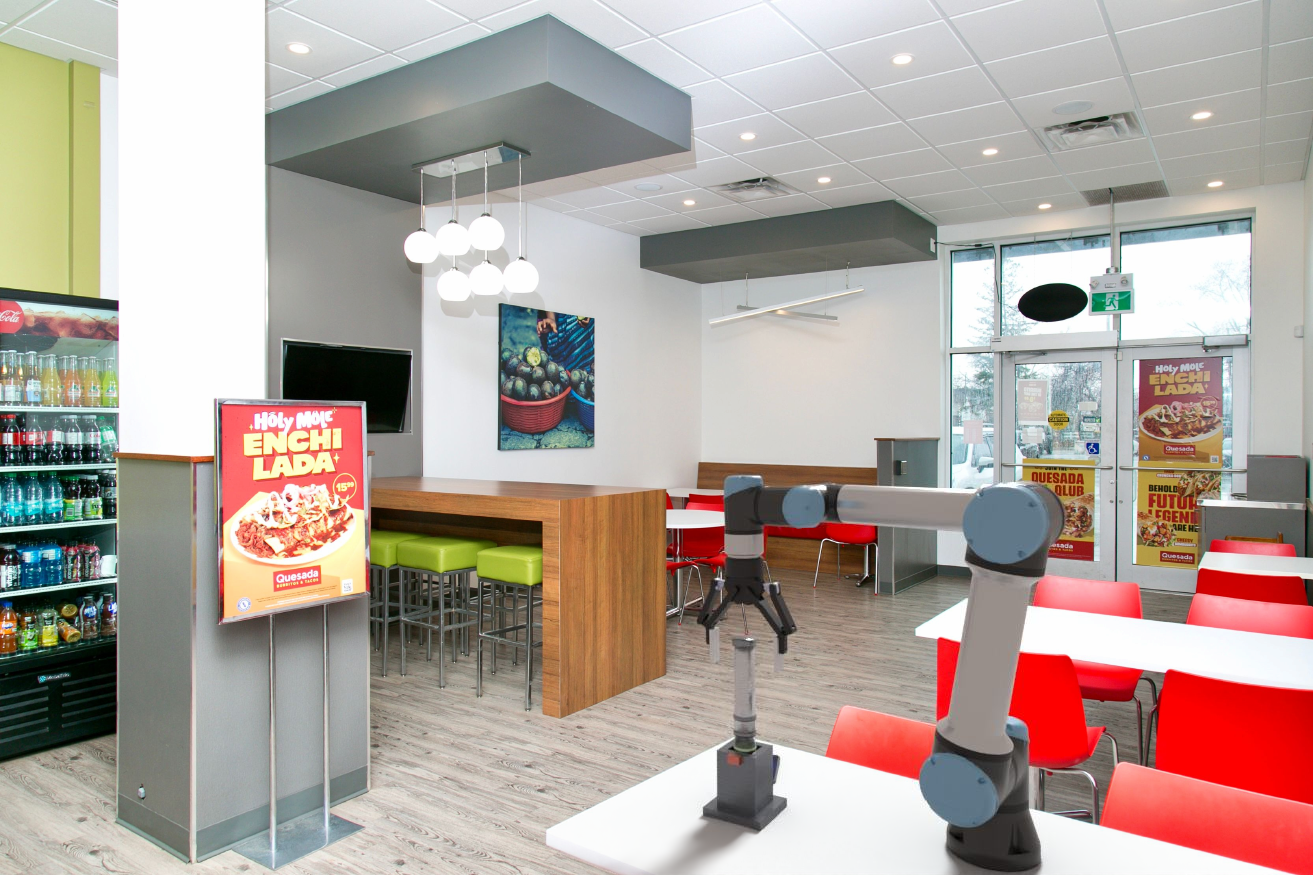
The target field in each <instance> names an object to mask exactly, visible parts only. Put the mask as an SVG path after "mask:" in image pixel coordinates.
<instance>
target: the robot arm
mask: <svg viewBox="0 0 1313 875" xmlns="http://www.w3.org/2000/svg"><path fill="white" fill-rule="evenodd" d="M723 484H724V485H723V498H722V500H723V510H724V511H723V513H724V514H723V515H724V554H725V555H727V556H725V558H724V575H725V579H722V578H721V577H715V578H712V579H711V580H710V583H709V585H710V586H709V591H708V593H707V596H706V598H705V599H704V603H703V605H702V607H701V609H700V611H699V615H698V616H697V619H696V624H698V625H699V626H700V625H701V626H702V627H704V628H705V644H706V645H709V664H715V663H717V662H720V660H721V659H720V658H721V656H720V654H721V651H720V649H721V648H720V627H718V626H717V624H718V623H719V621H720V620H722V618H723V616H724V615H725V614H726V612H728V610H729V609H730V608H731V606H732V605H733V604H734V603H735V605H741V604H743V605H746V606H751V605H753V606H754V607H755V608H756V609H758V611H759V612H760V613H761V615H762V616H763V618H764V619H765V621H766V622H767V624H769V626H770V627H771V629H773V631H774V633H775V636H773V644H772V645H773V673H780V672H781V671H783V670H784V667H785V666H784V655H785V654H787V652H788V650H789V649H788V636H790V635H793V634H794V633H797V631H798V628H797V626H796V623H795V621H794V619H793V617H792V614H791V613H790V611H789V610H790V609H789V608H788V606H787V603H786V602H785V599H784V597H783V594H782V590H781V584H780V582H779V581H775V582H773V583H772V582H771V583H766V582H765V578H764V577H765V558H764V557H763V556H762V555H763V554H764V553H765V551H764V550H765V549H764V544H765V543H764V527H765V526H770V527H771V526H772V527H785V528H796V529H802V528H803V529H804V528H806V529H807V528H816V527H818V525H820V523H829V524H830V523H833V524H853V525H865V526H875V527H876V526H878V527H890V528H891V527H892V528H893V527H894V528H904V529H905V528H906V529H917V530H919V529H920V530H929V531H931V530H932V531H945V532H958V533H963V536H964V539H965V541H966V548H965V554H964V560H963V561H964V562H965V565H967V567H968V568H969V570H970V571H971V573H972V575H971V582H970V587H969V592H968V598H967V602H966V604H967V605H966V609H965V610H966V611H965V615H964V620H963V626H962V633H961V638H960V645H959V652H958V656H957V661H956V668H955V674H954V680H953V685H952V691H951V696H950V697H951V698H950V704H949V708H948V709H949V710H948V714H947V715H946V716H944V717H943V718H941V719H939V720H937V722H936V724H935V725H936V727H935V732H934V737H933V742H932V748H931V753H930V756H928V757H926V759H925V761H923V764H922V766H921V767H920V771H919V776H918V777H919V778H918V784H919V785H918V786H919V789H920V792H921V795H922V797H923V799H924V800H925V801H926V803H927V805H928V806H929V808H930V809H931V810H932V812H934V814H936V815H937V817H939V818H941V820H943V821H945V822H947V826H946V835H945V836H946V839H945V840H946V841H945V842H946V846H947V848H948V849H949V850H950V851H951V853H953V854H954V855H955V856H956V857H959V859H962V860H964V861H965V862H967V863H970V864H972V865H975V866H979V867H982V868H985V869H990V870H995V871H1005V872H1014V871H1015V872H1018V871H1019V872H1020V871H1025V870H1029V869H1032V868H1034V867H1036V866H1038V865H1039V864H1040V862H1041V859H1042V845H1041V840H1040V838H1039V835H1038V832H1037V828H1036V826H1035V823H1034V820H1033V818H1032V814H1031V812H1030V776H1029V775H1030V758H1029V757H1030V750H1029V749H1030V748H1029V745H1030V738H1029V728H1028V726H1027V724H1026V723H1025V722H1024V721H1023V720H1021V719H1019V718H1017V717H1014V716H1010V715H1009V713H1010V707H1011V701H1012V695H1013V691H1014V690H1013V689H1014V684H1015V678H1016V672H1017V668H1018V662H1019V656H1020V651H1021V645H1022V641H1023V640H1022V639H1023V633H1024V629H1025V624H1026V623H1025V622H1026V616H1027V611H1028V607H1029V602H1030V601H1029V600H1030V596H1031V589H1032V586H1033V585H1034V584H1036V583H1038V582H1039V581H1041V580H1043V579H1044V578H1045V575H1046V574H1045V573H1046V569H1047V563H1048V557H1049V552H1050V547H1051V546H1053V545H1054V544H1055V543H1056V542H1057V541H1059V539H1060V538H1061V536H1062V535H1063V533H1064V530H1065V528H1066V524H1067V512H1066V507H1065V505H1064V502H1063V500H1062V499H1061V498H1060V496H1059V495H1058V494H1057V493H1056V492H1055V491H1054V490H1052V488H1050V487H1048V486H1047V485H1045V484H1043V483H1040V482H1037V481H1031V480H1019V481H1013V482H1008V481H1004V482H998V483H994V484H992V483H991V484H987V483H984V484H982V485H981V486H980V487H979V488H978V489H972V488H971V489H968V488H967V489H966V488H944V487H941V488H939V487H918V486H915V487H913V486H889V485H888V486H887V485H866V484H864V485H863V484H862V485H861V484H838V483H833V482H820V483H816V484H803V485H800V484H799V485H784V486H782V485H781V486H778V485H777V486H769V485H764V481H763V477H762V476H761V475H747V474H746V475H743V474H741V475H729V476H727V477H726V478H725V479H724V483H723ZM723 589H724V590H725V591H726V592H727V594H726V595H725V597H724V598H723V599H722V602H721V603H720V604H719V605H718V606H717V608H716V609H715V610H714V611H713V609H714V607H715V605H716V602H717V600H718V599H719V596H720V593H721V591H722V590H723ZM765 591H766V592H767V594H768V595H769V596H770V600H771V602H772V605H773V606H774V609H775V611H776V612H775V611H774V609H773V608H772V607H771V605H770V604H769V601H768V599H767V598H766V597H765V595H764V593H765ZM712 612H713V613H712ZM776 613H777V614H776ZM710 615H711V616H710Z"/></svg>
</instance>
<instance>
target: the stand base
mask: <svg viewBox="0 0 1313 875" xmlns="http://www.w3.org/2000/svg"><path fill="white" fill-rule="evenodd" d="M734 743H735V737H734V738H733V739H731V740H730V741H728V742H727V743H725V744H724V745H723V746H721V747H720V748H718V749H716V796H715V797H714V798H712V799H711V800H710V801H709V802H707V803H706V804H705V805H703V806H702V816H705V817H709V818H711V819H717V820H719V821H723V822H726V823H727V822H728V823H731V824H734V825H738V826H742V827H745V828H749V829H753V830H756V831H760V832H761V831H762V830H763V829H764V828H765V827H766V826H767V825H769V824H770V822H772V821H773V820H774V819H775V818H776V817H777V816H778V815H779V814H780V813H781V812H782V811H783V810H784V809H786V808H787V807H788V798H787V797H783V796H778V795H776V794H774V784H773V755H774V745H772V744H768V743H764V742H758V741H755V744H756V745H757V751H755V752H754V753H753V754H746V753H742V752H737V751H734Z"/></svg>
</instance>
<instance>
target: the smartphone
mask: <svg viewBox="0 0 1313 875" xmlns="http://www.w3.org/2000/svg"><path fill="white" fill-rule="evenodd" d="M780 761H781V756H780V755H777V754H773V785H774V784H776V783H777V779H778V778H777V777H778V771H779V767H780V764H781V762H780Z"/></svg>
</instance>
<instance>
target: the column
mask: <svg viewBox="0 0 1313 875" xmlns="http://www.w3.org/2000/svg"><path fill="white" fill-rule="evenodd" d="M731 645H732V647H733V692H734V693H733V694H734V697H733V698H734V699H733V700H734V702H733V704H734V708H733V709H734V713H733V714H732V715H733V720H734V726H733V727H734V728H733V731H732V732H733V735H734V738H735V743H734V751H737V752H742V753H746V754H753V753H754V752H755V751H757V745H756V744H755V742H756V736H757V730H756V720H757V714H756V649H755V648H756V647H757V646H758V637H755V636H753V635H734V636H731Z"/></svg>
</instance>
